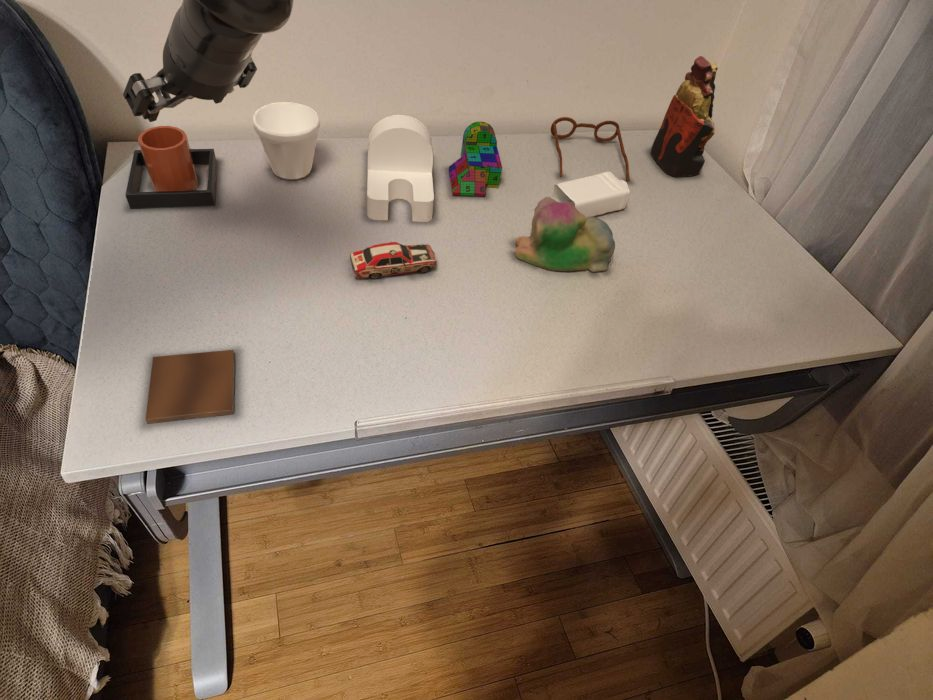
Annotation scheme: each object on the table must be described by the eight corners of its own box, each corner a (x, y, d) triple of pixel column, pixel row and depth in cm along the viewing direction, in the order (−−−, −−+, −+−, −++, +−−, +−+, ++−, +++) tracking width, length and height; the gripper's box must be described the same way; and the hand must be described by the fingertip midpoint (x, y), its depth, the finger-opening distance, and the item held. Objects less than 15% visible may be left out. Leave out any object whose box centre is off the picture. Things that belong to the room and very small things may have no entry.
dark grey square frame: (130, 209, 89) (125, 194, 88) (138, 164, 97) (134, 149, 95) (214, 205, 92) (211, 192, 90) (216, 162, 99) (213, 148, 97)
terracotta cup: (151, 197, 92) (135, 150, 86) (155, 173, 96) (140, 125, 90) (196, 196, 93) (184, 149, 87) (198, 171, 97) (187, 125, 91)
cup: (263, 152, 103) (255, 99, 96) (324, 154, 104) (320, 102, 97) (257, 187, 96) (248, 133, 89) (322, 189, 98) (318, 136, 91)
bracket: (432, 222, 96) (438, 158, 87) (367, 219, 94) (366, 154, 86) (426, 154, 108) (431, 92, 99) (368, 151, 106) (368, 88, 98)
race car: (353, 266, 89) (346, 242, 86) (433, 252, 91) (430, 228, 87) (356, 290, 86) (350, 266, 83) (439, 275, 88) (436, 251, 84)
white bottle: (631, 209, 104) (639, 188, 101) (570, 225, 99) (576, 203, 96) (609, 188, 108) (616, 167, 105) (548, 202, 103) (554, 180, 100)
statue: (703, 178, 114) (754, 72, 99) (665, 179, 112) (711, 71, 97) (676, 143, 121) (719, 39, 106) (640, 143, 119) (678, 38, 104)
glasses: (613, 143, 118) (621, 119, 114) (629, 182, 110) (638, 158, 106) (547, 138, 117) (553, 113, 113) (558, 177, 108) (565, 152, 104)
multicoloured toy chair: (446, 155, 109) (449, 119, 103) (491, 157, 110) (497, 122, 105) (452, 195, 101) (457, 159, 96) (500, 197, 102) (507, 161, 97)
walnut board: (147, 423, 67) (145, 419, 66) (154, 361, 73) (152, 356, 72) (233, 414, 69) (232, 410, 69) (234, 353, 75) (233, 349, 74)
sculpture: (594, 236, 98) (612, 183, 91) (614, 272, 93) (636, 219, 86) (508, 242, 95) (520, 188, 87) (524, 280, 90) (539, 225, 82)
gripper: (253, -1, 66) (219, 61, 79) (119, 24, 58) (107, 89, 72) (286, 68, 67) (247, 118, 81) (159, 101, 60) (140, 150, 74)
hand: (181, 104), depth 76 cm, fingers open, 8 cm apart
